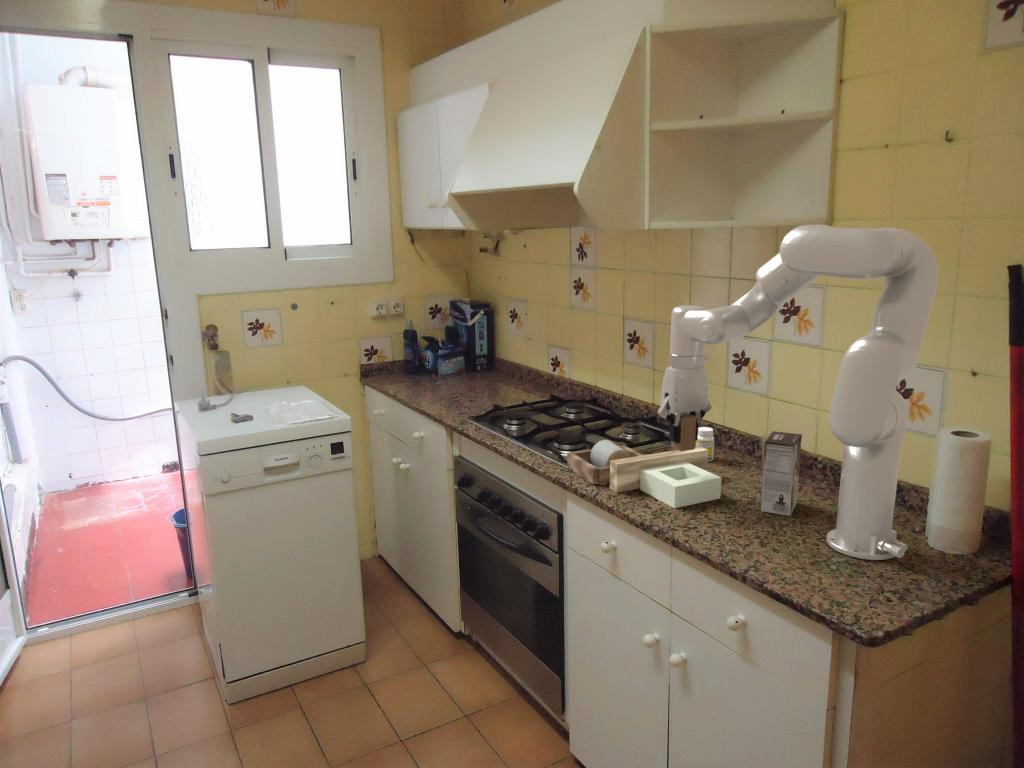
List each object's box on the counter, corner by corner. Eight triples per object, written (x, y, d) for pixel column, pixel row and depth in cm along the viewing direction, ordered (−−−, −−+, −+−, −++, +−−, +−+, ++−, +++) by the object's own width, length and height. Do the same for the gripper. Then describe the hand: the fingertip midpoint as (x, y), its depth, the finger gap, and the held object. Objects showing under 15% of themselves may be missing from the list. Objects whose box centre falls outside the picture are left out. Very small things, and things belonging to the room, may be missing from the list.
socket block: (720, 498, 163) (721, 477, 162) (674, 508, 157) (675, 486, 156) (684, 480, 174) (684, 461, 173) (639, 489, 169) (640, 469, 168)
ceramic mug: (607, 479, 176) (608, 449, 174) (589, 470, 183) (590, 441, 181) (642, 473, 180) (643, 444, 179) (623, 464, 188) (624, 436, 186)
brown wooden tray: (654, 475, 178) (654, 460, 177) (594, 486, 171) (594, 470, 171) (622, 458, 191) (622, 444, 191) (566, 467, 185) (566, 452, 184)
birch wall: (707, 476, 177) (708, 449, 175) (616, 492, 167) (616, 464, 165) (699, 473, 179) (700, 446, 178) (609, 488, 170) (610, 460, 168)
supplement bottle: (699, 455, 193) (701, 425, 192) (716, 458, 190) (717, 428, 189) (691, 459, 190) (693, 429, 188) (708, 463, 187) (710, 432, 185)
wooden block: (670, 447, 164) (671, 413, 162) (685, 445, 165) (686, 411, 164) (680, 452, 160) (682, 417, 159) (695, 449, 162) (697, 415, 160)
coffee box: (767, 497, 163) (772, 430, 159) (797, 502, 160) (802, 433, 156) (760, 511, 155) (764, 440, 151) (791, 517, 152) (796, 444, 148)
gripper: (707, 356, 165) (703, 431, 169) (645, 361, 159) (643, 440, 163) (728, 361, 158) (723, 440, 162) (665, 367, 152) (662, 449, 156)
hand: (683, 439), depth 162 cm, fingers closed on wooden block, 4 cm apart
